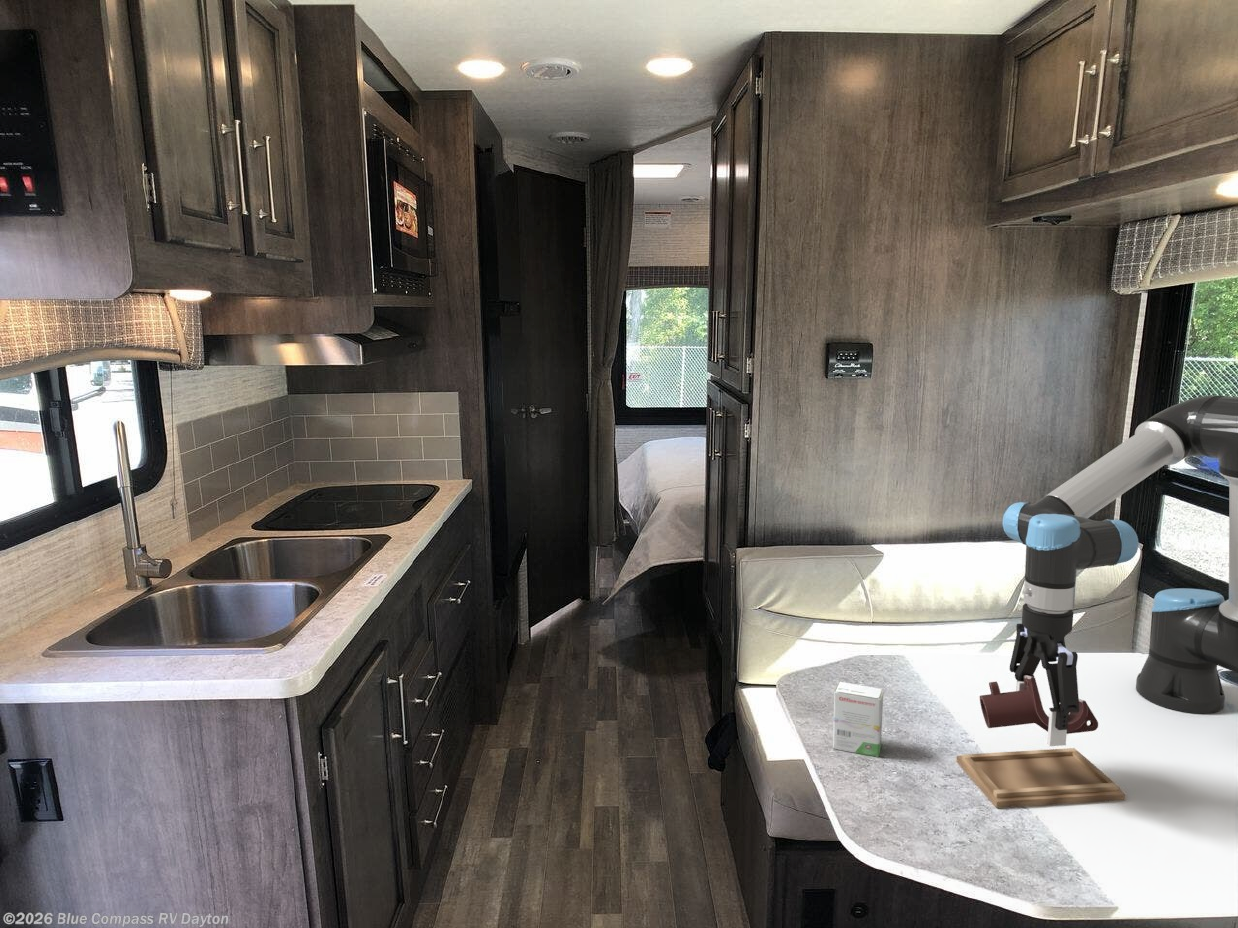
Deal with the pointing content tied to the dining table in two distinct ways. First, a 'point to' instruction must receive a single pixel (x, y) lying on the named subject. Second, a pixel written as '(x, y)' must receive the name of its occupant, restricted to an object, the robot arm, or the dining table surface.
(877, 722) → the ink box
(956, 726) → the dining table surface
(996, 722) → the bracket
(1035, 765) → the side panel
